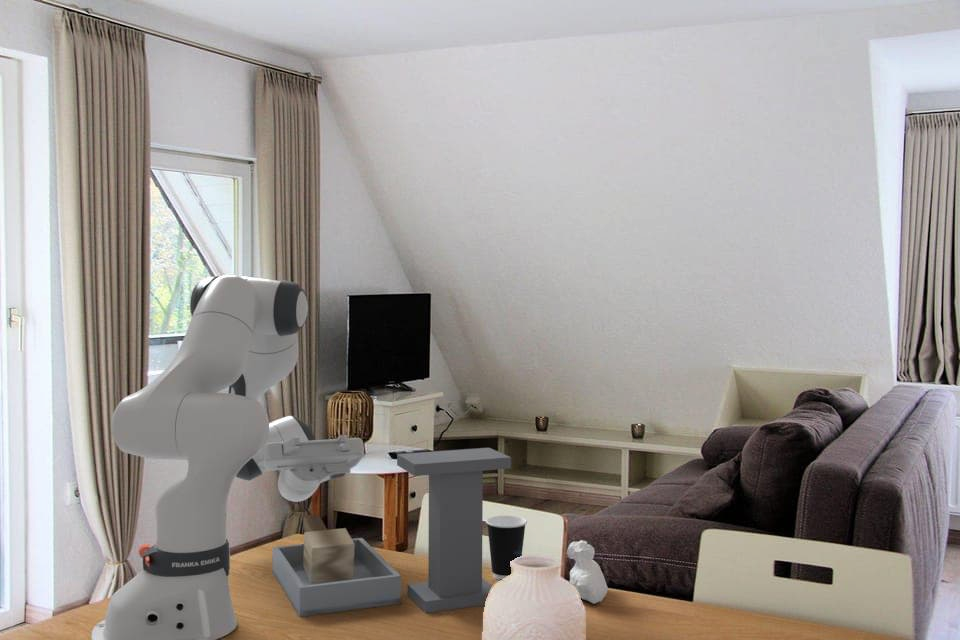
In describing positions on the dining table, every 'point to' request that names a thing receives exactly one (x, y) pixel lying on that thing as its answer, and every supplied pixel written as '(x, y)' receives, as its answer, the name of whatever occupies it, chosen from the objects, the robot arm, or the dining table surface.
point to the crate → (337, 582)
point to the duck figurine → (586, 572)
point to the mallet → (326, 551)
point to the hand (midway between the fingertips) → (320, 439)
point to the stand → (453, 525)
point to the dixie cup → (505, 542)
